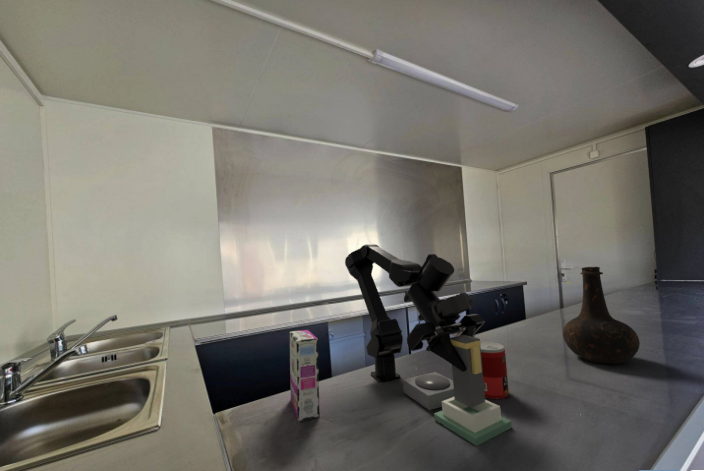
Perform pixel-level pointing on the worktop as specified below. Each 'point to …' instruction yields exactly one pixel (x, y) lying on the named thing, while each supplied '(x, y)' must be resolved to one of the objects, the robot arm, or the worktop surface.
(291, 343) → the candy bar box
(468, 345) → the dark grey tall block
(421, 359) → the worktop surface
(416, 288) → the robot arm
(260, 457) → the worktop surface
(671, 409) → the worktop surface
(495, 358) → the canned food
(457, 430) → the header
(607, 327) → the glass bottle
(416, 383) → the grey domed square block
